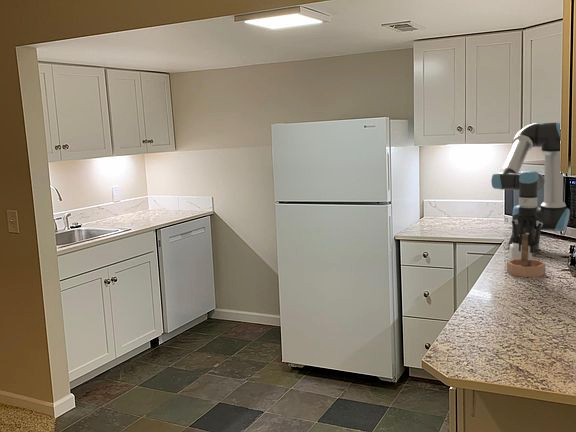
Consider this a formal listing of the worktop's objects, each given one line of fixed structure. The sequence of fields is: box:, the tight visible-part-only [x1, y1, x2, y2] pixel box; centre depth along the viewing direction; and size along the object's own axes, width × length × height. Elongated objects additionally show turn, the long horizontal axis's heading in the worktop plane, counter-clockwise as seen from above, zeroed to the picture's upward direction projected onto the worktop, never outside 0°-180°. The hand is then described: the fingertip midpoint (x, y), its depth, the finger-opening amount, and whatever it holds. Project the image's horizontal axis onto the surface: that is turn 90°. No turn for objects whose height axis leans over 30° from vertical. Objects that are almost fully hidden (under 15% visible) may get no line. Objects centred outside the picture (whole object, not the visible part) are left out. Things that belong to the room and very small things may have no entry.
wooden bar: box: [521, 233, 531, 266], centre depth 260 cm, size 4×2×14 cm, turn 136°
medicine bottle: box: [508, 235, 521, 261], centre depth 284 cm, size 7×7×12 cm
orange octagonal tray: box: [506, 258, 546, 278], centre depth 262 cm, size 15×15×4 cm
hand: (526, 259), depth 261 cm, fingers closed on wooden bar, 2 cm apart
